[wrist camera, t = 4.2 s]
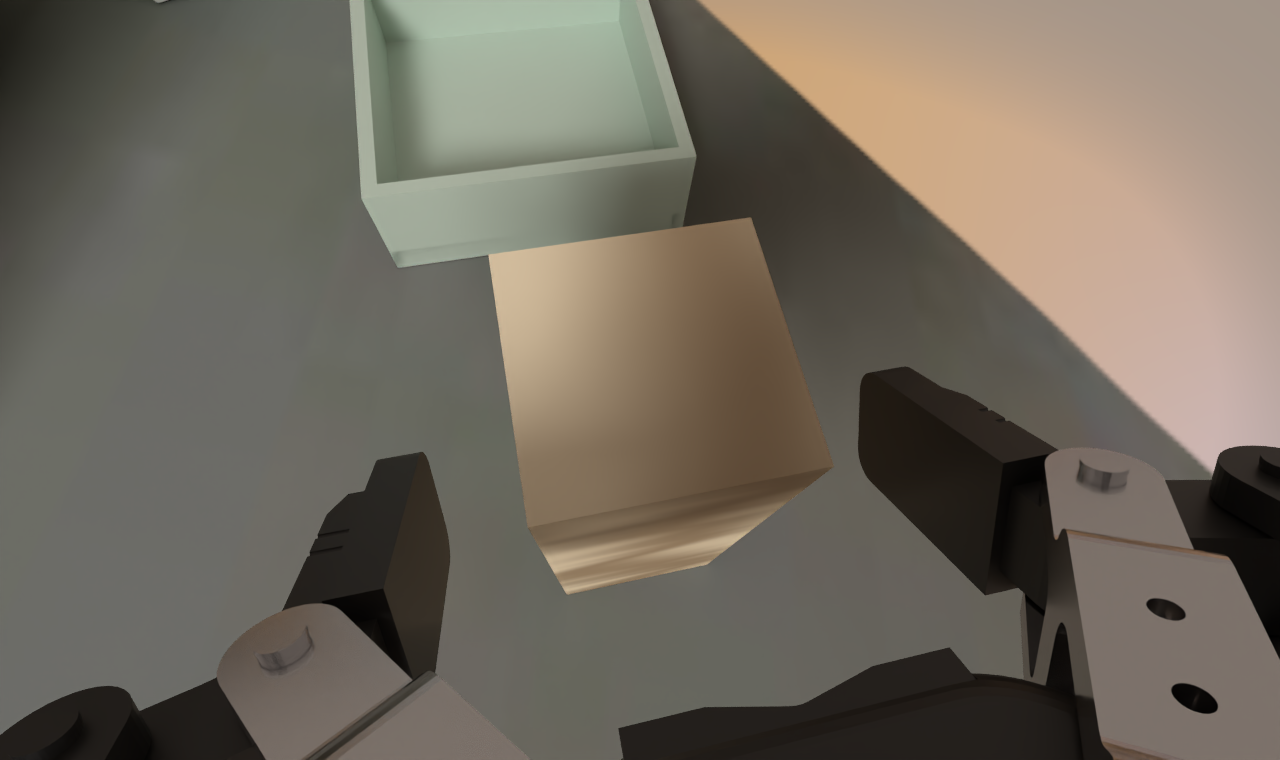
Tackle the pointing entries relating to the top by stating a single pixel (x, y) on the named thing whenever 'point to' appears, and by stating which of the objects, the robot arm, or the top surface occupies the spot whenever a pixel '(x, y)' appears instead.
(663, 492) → the birch block
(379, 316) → the top surface
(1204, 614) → the robot arm
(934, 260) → the top surface
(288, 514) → the top surface
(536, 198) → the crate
